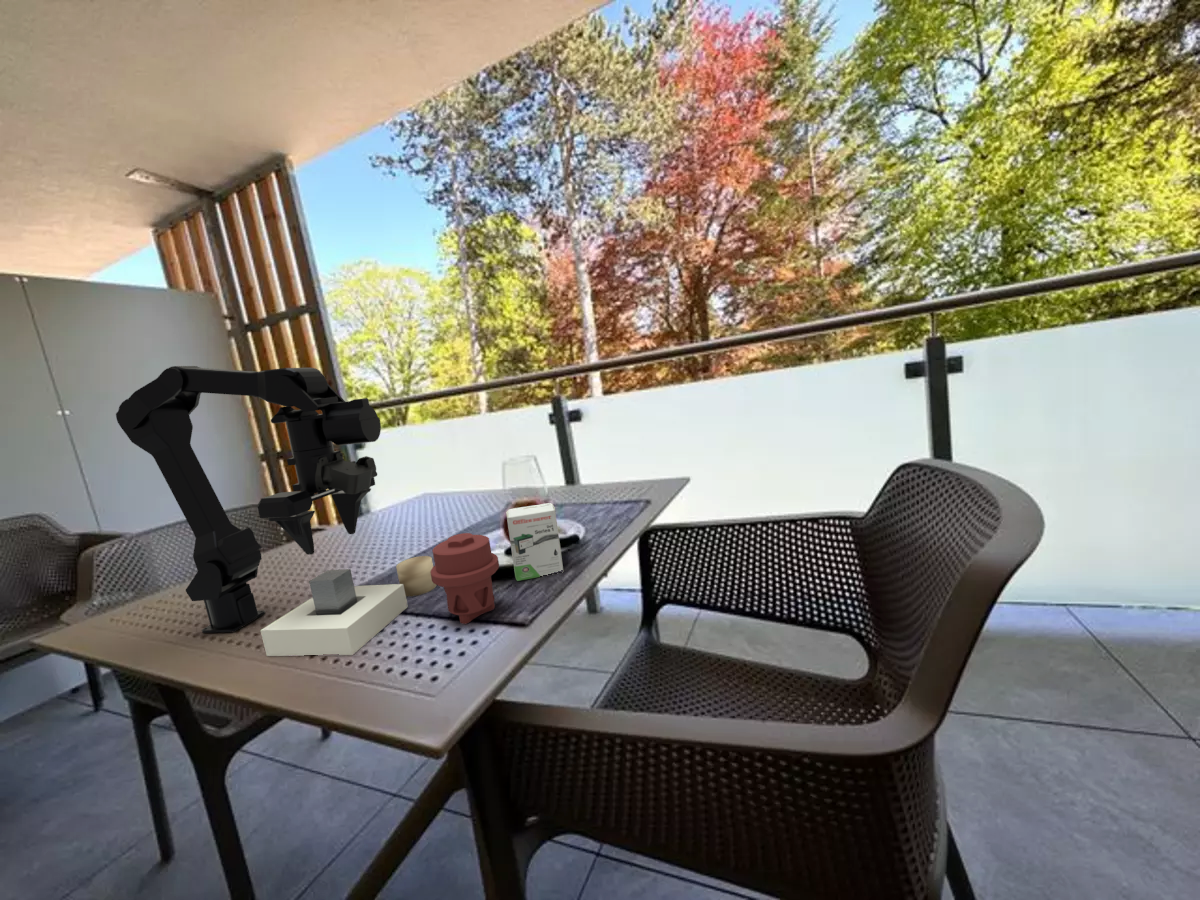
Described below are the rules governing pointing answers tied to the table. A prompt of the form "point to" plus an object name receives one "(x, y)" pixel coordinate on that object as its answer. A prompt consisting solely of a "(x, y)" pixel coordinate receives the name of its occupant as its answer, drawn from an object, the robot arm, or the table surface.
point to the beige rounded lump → (416, 575)
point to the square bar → (333, 592)
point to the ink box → (534, 541)
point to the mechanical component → (466, 574)
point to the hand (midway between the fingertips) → (332, 543)
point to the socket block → (335, 624)
